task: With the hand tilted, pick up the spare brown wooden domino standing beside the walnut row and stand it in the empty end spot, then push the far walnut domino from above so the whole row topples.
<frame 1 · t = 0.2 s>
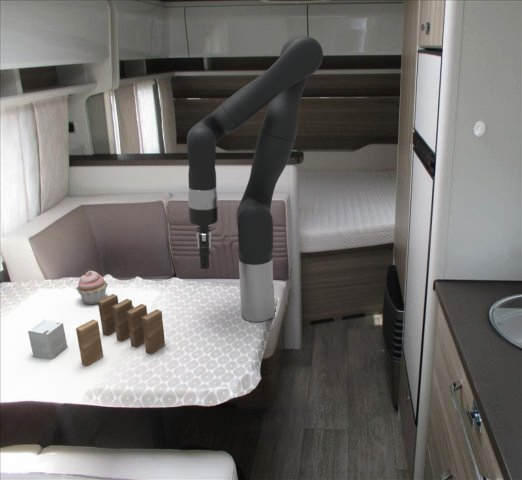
hand: (204, 262, 138), 17 cm above the table, tool pointing down, fingers open, 8 cm apart
skincare box: (50, 352, 131), on the table
domino 1: (112, 331, 139), on the table
domino 5: (92, 360, 126), on the table
shard: (128, 316, 148), on the table
domino 3: (140, 342, 133), on the table
cupcake: (94, 300, 157), on the table
domino 2: (126, 336, 136), on the table
domino 4: (155, 349, 130), on the table
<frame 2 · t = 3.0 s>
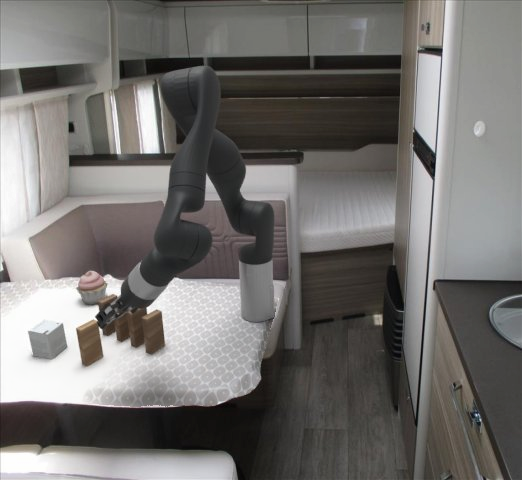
hand: (116, 317, 115), 15 cm above the table, tool tilted 45°, fingers open, 8 cm apart
nothing on the table moved.
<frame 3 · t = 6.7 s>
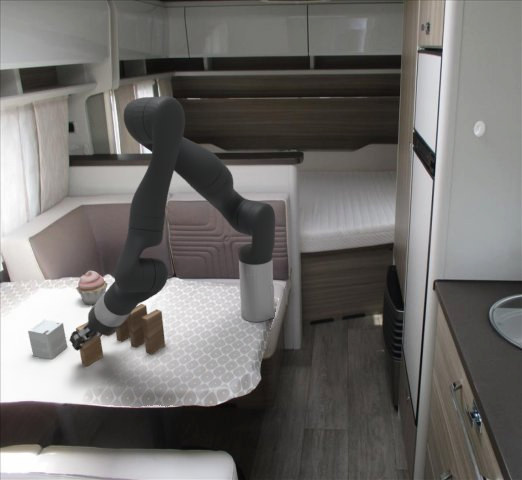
hand: (85, 341, 126), 5 cm above the table, tool tilted 45°, fingers closed on domino 5, 5 cm apart
domino 5: (92, 360, 126), on the table, touching gripper
everything else where it was.
when the fingers open (6 cm above the table, at t = 15.1 s): domino 5 drops 1 cm, on the table.
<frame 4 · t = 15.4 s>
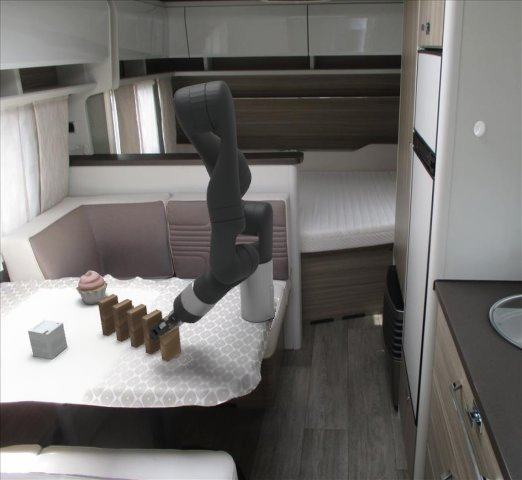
hand: (164, 330, 126), 7 cm above the table, tool tilted 45°, fingers open, 8 cm apart
domino 5: (171, 355, 127), on the table
everything else where it was.
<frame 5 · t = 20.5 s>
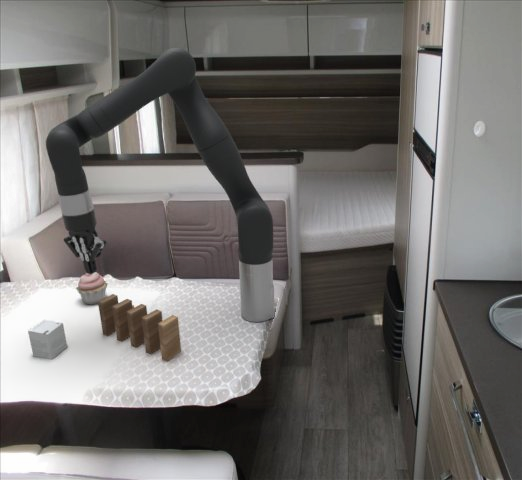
hand: (91, 272, 132), 18 cm above the table, tool pointing down, fingers closed
nothing on the table moved.
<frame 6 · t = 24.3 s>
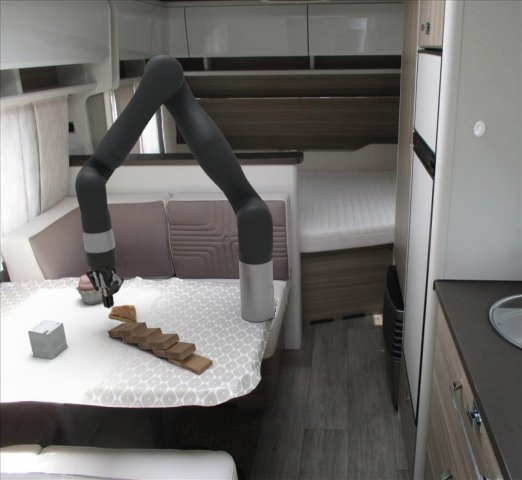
hand: (108, 306, 137), 8 cm above the table, tool pointing down, fingers closed
domino 1: (116, 330, 138), point 1 cm above the table, tilted 71°, touching domino 2
domino 5: (175, 355, 127), on the table, tilted 90°
domino 3: (146, 341, 132), point 1 cm above the table, tilted 71°, touching domino 2, domino 4
domino 2: (130, 335, 135), point 1 cm above the table, tilted 71°, touching domino 1, domino 3
domino 4: (160, 348, 129), point 1 cm above the table, tilted 76°, touching domino 3
everything else where it was.
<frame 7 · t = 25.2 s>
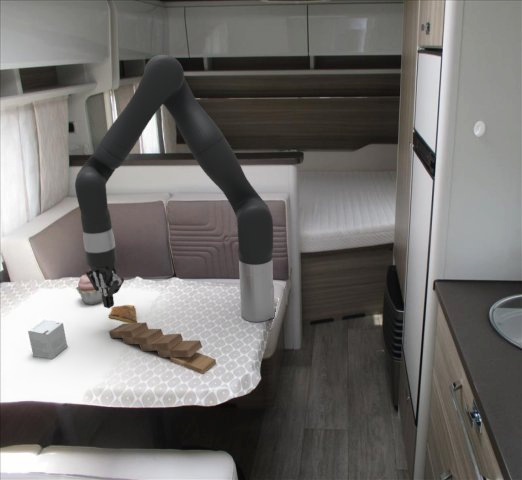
hand: (108, 306, 137), 8 cm above the table, tool pointing down, fingers closed
domino 5: (177, 355, 127), on the table, tilted 90°, touching domino 4
domino 3: (147, 343, 132), point 1 cm above the table, tilted 71°, touching domino 2, domino 4
domino 4: (164, 348, 129), point 1 cm above the table, tilted 74°, touching domino 3, domino 5
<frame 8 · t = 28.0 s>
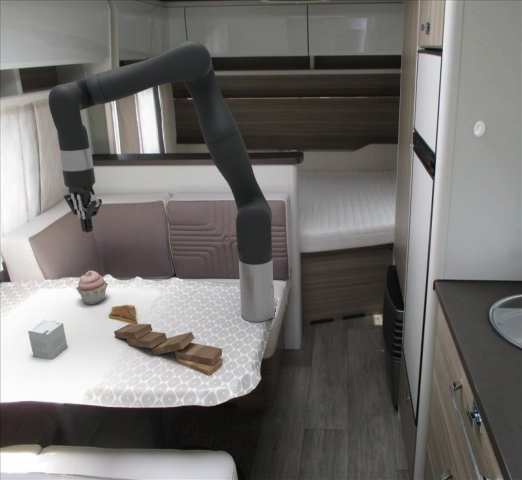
hand: (87, 231, 135), 27 cm above the table, tool pointing down, fingers closed
domino 1: (122, 330, 138), point 1 cm above the table, tilted 72°, touching domino 2
domino 5: (183, 357, 126), on the table, tilted 90°, touching domino 4
domino 3: (160, 346, 130), point 1 cm above the table, tilted 64°
domino 2: (135, 337, 134), point 1 cm above the table, tilted 74°, touching domino 1
domino 4: (180, 349, 126), point 2 cm above the table, tilted 90°, touching domino 5
everything else where it was.
at the end: domino 5 tilted 90°; domino 3 tilted 64°; domino 1 tilted 72° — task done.
